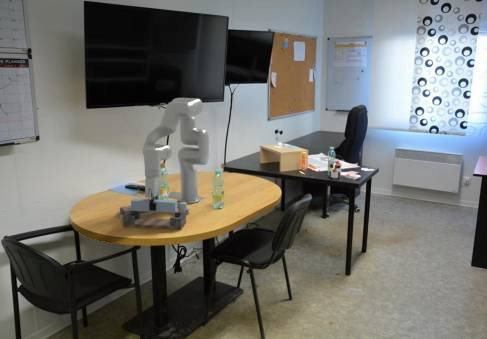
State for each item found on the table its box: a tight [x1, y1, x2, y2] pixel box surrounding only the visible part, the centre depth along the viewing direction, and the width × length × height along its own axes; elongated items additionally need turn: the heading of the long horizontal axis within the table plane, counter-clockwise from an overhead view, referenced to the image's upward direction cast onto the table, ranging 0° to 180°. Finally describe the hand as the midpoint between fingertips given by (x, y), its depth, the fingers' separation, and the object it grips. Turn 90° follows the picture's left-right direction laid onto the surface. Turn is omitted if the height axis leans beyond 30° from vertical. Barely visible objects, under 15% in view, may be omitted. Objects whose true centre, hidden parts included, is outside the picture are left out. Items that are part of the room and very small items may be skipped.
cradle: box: [122, 210, 187, 231], centre depth 211 cm, size 29×10×6 cm, turn 84°
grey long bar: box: [177, 202, 190, 215], centre depth 232 cm, size 5×7×25 cm
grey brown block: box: [116, 205, 156, 220], centre depth 227 cm, size 18×5×10 cm
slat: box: [130, 197, 178, 214], centre depth 209 cm, size 22×4×5 cm, turn 84°
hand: (154, 208), depth 209 cm, fingers closed on slat, 4 cm apart
